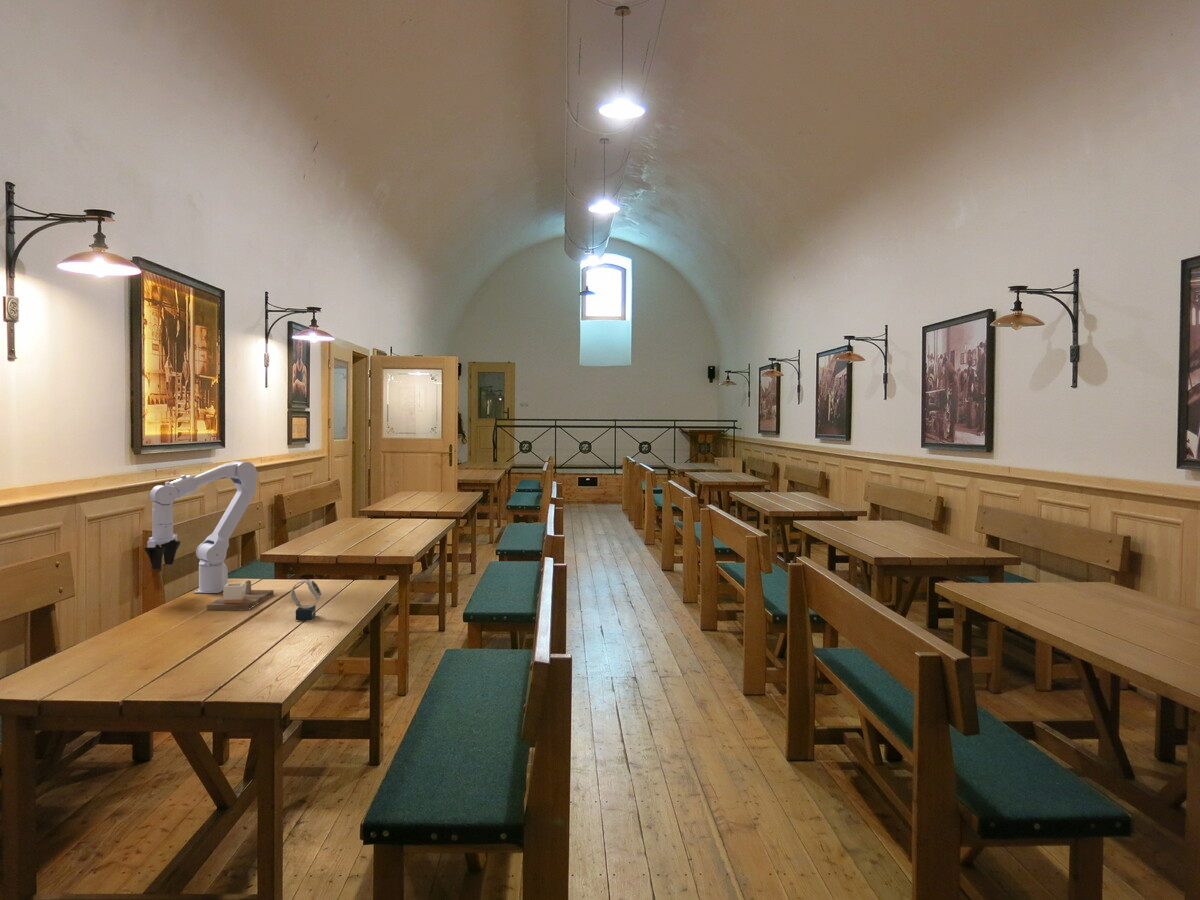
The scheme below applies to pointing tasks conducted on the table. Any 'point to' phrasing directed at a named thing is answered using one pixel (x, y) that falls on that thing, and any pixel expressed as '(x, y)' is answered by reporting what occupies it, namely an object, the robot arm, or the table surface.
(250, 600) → the pin board
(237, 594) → the sleeve
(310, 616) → the watch
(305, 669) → the table surface
